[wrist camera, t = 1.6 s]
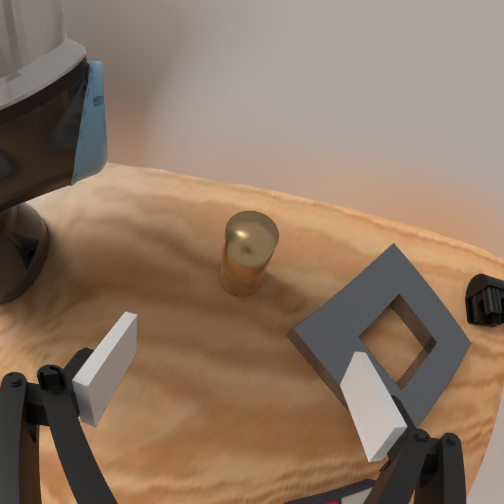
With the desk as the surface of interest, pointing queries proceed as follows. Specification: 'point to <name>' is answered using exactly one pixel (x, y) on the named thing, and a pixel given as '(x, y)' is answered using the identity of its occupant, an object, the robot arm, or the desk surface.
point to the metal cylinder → (247, 251)
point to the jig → (365, 312)
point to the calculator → (340, 495)
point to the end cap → (485, 301)
